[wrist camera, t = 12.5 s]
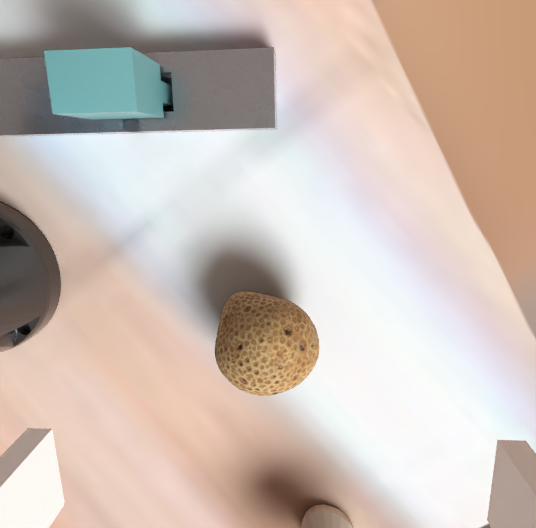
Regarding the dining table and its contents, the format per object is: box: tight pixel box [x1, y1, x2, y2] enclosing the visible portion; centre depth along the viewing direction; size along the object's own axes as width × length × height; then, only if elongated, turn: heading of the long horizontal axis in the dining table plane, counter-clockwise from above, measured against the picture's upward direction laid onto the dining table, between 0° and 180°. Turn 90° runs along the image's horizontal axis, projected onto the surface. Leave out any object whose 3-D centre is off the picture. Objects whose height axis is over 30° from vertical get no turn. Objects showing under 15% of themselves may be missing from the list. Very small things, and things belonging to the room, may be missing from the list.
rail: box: [0, 47, 277, 136], centre depth 37 cm, size 24×6×2 cm, turn 91°
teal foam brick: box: [44, 47, 173, 120], centre depth 34 cm, size 6×4×9 cm, turn 91°
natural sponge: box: [215, 291, 319, 396], centre depth 38 cm, size 9×9×10 cm
